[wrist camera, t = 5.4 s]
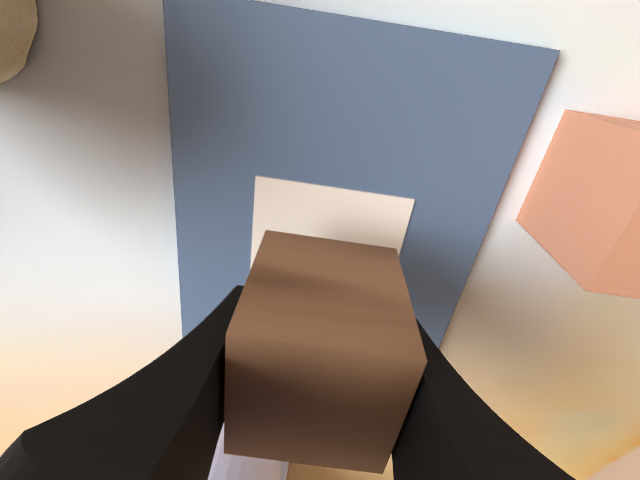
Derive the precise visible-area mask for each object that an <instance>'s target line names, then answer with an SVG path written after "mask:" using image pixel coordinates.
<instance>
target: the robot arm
mask: <svg viewBox="0 0 640 480" xmlns="http://www.w3.org/2000/svg"><path fill="white" fill-rule="evenodd" d="M243 288H244V286H242V285H237V286H235V287H234V288H233V289H232V290H231V292H230V293H229V294H228V295H227V296H226V297H225V298H224V299H223V300H222V302H221V303H220V304H219V305H218V306H217V307H216V308H215V309H214V310H213V311H212V312H211V313H210V314H209V315H208V316H207V317H206V318H205V319H204V320H203V321H202V322H200V323H199V324H198V325H197V326H196V327H195V328H194V329H193V330H192V331H190V332H189V333H188V334H187V335H186V336H185V337H183V338H182V339H181V340H180V341H179V342H178V343H176V344H175V345H174V346H173V347H171V348H170V349H169V350H168V351H166V352H165V353H164V354H162V355H161V356H159V357H158V358H157V359H155V360H154V361H153V362H151V363H150V364H148V365H147V366H145V367H144V368H142V369H141V370H139V371H138V372H136V373H135V374H133V375H132V376H130V377H129V378H127V379H125V380H124V381H122V382H120V383H119V384H117V385H116V386H114V387H112V388H110V389H108V390H107V391H105V392H103V393H101V394H99V395H98V396H96V397H94V398H92V399H90V400H89V401H87V402H85V403H83V404H81V405H79V406H77V407H75V408H73V409H71V410H69V411H67V412H65V413H62V414H60V415H58V416H56V417H54V418H52V419H50V420H47V421H45V422H43V423H41V424H39V425H37V426H34V427H32V428H30V429H28V430H25V431H24V432H23V433H22V434H21V435H20V436H19V437H18V438H17V439H16V440H15V441H14V442H13V443H12V444H11V445H10V447H9V448H8V449H7V450H6V451H5V452H4V453H3V455H2V456H1V457H0V480H286V477H287V471H288V466H289V462H285V461H277V460H269V459H261V458H253V457H245V456H237V455H229V454H224V401H225V340H226V332H227V329H228V327H229V324H230V321H231V319H232V316H233V314H234V311H235V308H236V306H237V303H238V301H239V298H240V295H241V293H242V290H243ZM415 318H416V317H415ZM416 322H417V325H418V329H419V333H420V336H421V340H422V343H423V347H424V351H425V354H426V358H427V364H426V367H425V369H424V372H423V374H422V377H421V379H420V382H419V384H418V387H417V389H416V392H415V394H414V397H413V399H412V402H411V404H410V407H409V409H408V412H407V414H406V417H405V419H404V422H403V424H402V427H401V429H400V432H399V435H398V437H397V440H396V442H395V445H394V447H393V450H392V452H391V453H392V461H393V475H394V480H576V479H574V478H573V477H571V476H570V475H569V474H567V473H566V472H565V471H563V470H562V469H561V468H559V467H558V466H557V465H556V464H554V463H553V462H552V461H550V460H549V459H548V458H547V457H545V456H544V455H543V454H542V453H540V452H539V451H538V450H537V449H535V448H534V447H533V446H532V445H531V444H529V443H528V442H527V441H526V440H525V439H523V438H522V437H521V436H520V435H519V434H518V433H517V432H516V431H514V430H513V429H512V428H511V427H510V426H509V425H508V424H507V423H505V422H504V421H503V420H502V419H501V418H500V417H499V416H498V415H497V414H496V413H495V412H494V411H493V410H492V409H491V408H490V407H489V406H488V405H487V404H486V403H485V402H484V401H483V400H482V399H481V398H480V397H479V396H478V395H477V394H476V393H475V392H474V391H473V390H472V389H471V388H470V386H469V385H468V384H467V383H466V382H465V381H464V380H463V379H462V377H461V376H460V375H459V374H458V373H457V372H456V370H455V369H454V368H453V367H452V366H451V364H450V363H449V362H448V361H447V359H446V358H445V357H444V355H443V354H442V353H441V352H440V350H439V349H438V348H437V346H436V345H435V344H434V342H433V341H432V339H431V338H430V337H429V335H428V334H427V332H426V331H425V330H424V328H423V327H422V325H421V324H420V323H419V321H418V320H417V318H416Z"/></svg>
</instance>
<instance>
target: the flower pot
mask: <svg viewBox="0 0 640 480" xmlns="http://www.w3.org/2000/svg"><path fill="white" fill-rule="evenodd" d="M37 26H38V17H37V7H36V1H35V0H0V83H3V82H5V81H7V80H9V79H11V78H12V77H14V76H16V75H17V74H18V73H19V72H20V71H21V70H22V69H23V68H24V67H25V64H26V59H27V56H28V53H29V50H30V47H31V44H32V41H33V38H34V36H35V33H36V30H37Z"/></svg>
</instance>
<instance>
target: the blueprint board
mask: <svg viewBox="0 0 640 480" xmlns="http://www.w3.org/2000/svg"><path fill="white" fill-rule="evenodd" d="M163 7H164V24H165V42H166V59H167V76H168V93H169V110H170V127H171V145H172V162H173V179H174V196H175V213H176V231H177V248H178V265H179V282H180V299H181V316H182V334H183V337H185V336H186V335H187V334H188V333H189V332H190V331H192V330H193V329H194V328H195V327H196V326H197V325H198V324H199V323H200V322H202V321H203V320H204V319H205V318H206V317H207V316H208V315H209V314H210V313H211V312H212V311H213V310H214V309H215V308H216V307H217V306H218V305H219V304H220V303H221V302H222V300H223V299H224V298H225V297H226V296H227V295H228V294H229V293H230V292H231V290H232V289H233V288H234V287H235V286H237V285H242V286H244V285H245V283H246V280H247V277H248V275H249V272H250V270H251V267H252V264H253V262H254V259H255V257H256V254H257V251H258V249H259V246H260V244H261V241H262V238H263V236H264V233H265V231H266V230H271V231H278V232H284V233H291V234H298V235H305V236H312V237H319V238H326V239H333V240H340V241H347V242H354V243H361V244H368V245H375V246H382V247H389V248H396V249H397V253H398V256H399V260H400V264H401V267H402V271H403V274H404V278H405V282H406V285H407V289H408V293H409V296H410V300H411V303H412V307H413V311H414V314H415V317H416V318H417V320H418V321H419V323H420V324H421V325H422V327H423V328H424V330H425V331H426V332H427V334H428V335H429V337H430V338H431V339H432V341H433V342H434V344H435V345H436V346H437V348H438V349H439V346H440V344H441V341H442V339H443V336H444V334H445V332H446V329H447V327H448V324H449V322H450V319H451V317H452V314H453V312H454V310H455V307H456V305H457V302H458V300H459V297H460V295H461V292H462V290H463V287H464V285H465V283H466V280H467V278H468V275H469V273H470V270H471V268H472V265H473V263H474V260H475V258H476V256H477V253H478V251H479V248H480V246H481V243H482V241H483V238H484V236H485V234H486V231H487V229H488V226H489V224H490V221H491V219H492V216H493V214H494V211H495V209H496V207H497V204H498V202H499V199H500V197H501V194H502V192H503V189H504V187H505V184H506V182H507V180H508V177H509V175H510V172H511V170H512V167H513V165H514V162H515V160H516V158H517V155H518V153H519V150H520V148H521V145H522V143H523V140H524V138H525V135H526V133H527V131H528V128H529V126H530V123H531V121H532V118H533V116H534V113H535V111H536V109H537V106H538V104H539V101H540V99H541V96H542V94H543V91H544V89H545V86H546V84H547V82H548V79H549V77H550V74H551V72H552V69H553V67H554V64H555V62H556V59H557V57H558V55H559V52H560V50H555V49H549V48H543V47H537V46H530V45H524V44H518V43H512V42H506V41H499V40H493V39H487V38H481V37H475V36H469V35H462V34H456V33H450V32H444V31H438V30H431V29H425V28H419V27H413V26H407V25H401V24H394V23H388V22H382V21H376V20H370V19H363V18H357V17H351V16H345V15H339V14H333V13H326V12H320V11H314V10H308V9H302V8H295V7H289V6H283V5H277V4H271V3H265V2H258V1H252V0H163Z"/></svg>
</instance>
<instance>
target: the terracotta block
mask: <svg viewBox="0 0 640 480" xmlns="http://www.w3.org/2000/svg"><path fill="white" fill-rule="evenodd" d="M516 221H517V222H518V223H519V224H520V225H521V226H522V227H523V228H524V229H525V230H526V231H527V232H528V233H529V234H530V235H531V236H532V237H533V238H534V239H535V240H536V241H537V242H538V243H539V244H540V245H541V246H542V247H543V248H544V249H545V250H546V251H547V252H548V253H549V254H550V255H551V256H552V257H553V258H554V259H555V260H556V261H557V263H558V264H559V265H560V266H561V267H562V268H563V269H564V270H565V271H566V272H567V273H568V274H569V275H570V276H571V277H572V278H573V279H574V280H575V281H576V282H577V283H578V284H579V285H580V286H581V287H582V288H583V289H584V290H585V291H590V292H597V293H604V294H611V295H618V296H625V297H632V298H639V299H640V121H635V120H629V119H623V118H616V117H610V116H604V115H597V114H591V113H585V112H578V111H572V110H566V109H565V111H564V113H563V115H562V118H561V120H560V122H559V124H558V127H557V129H556V131H555V133H554V136H553V138H552V140H551V142H550V145H549V147H548V149H547V151H546V154H545V156H544V158H543V160H542V162H541V165H540V167H539V169H538V171H537V174H536V176H535V178H534V180H533V183H532V185H531V187H530V189H529V192H528V194H527V196H526V198H525V201H524V203H523V205H522V207H521V210H520V212H519V214H518V216H517V219H516Z"/></svg>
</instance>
